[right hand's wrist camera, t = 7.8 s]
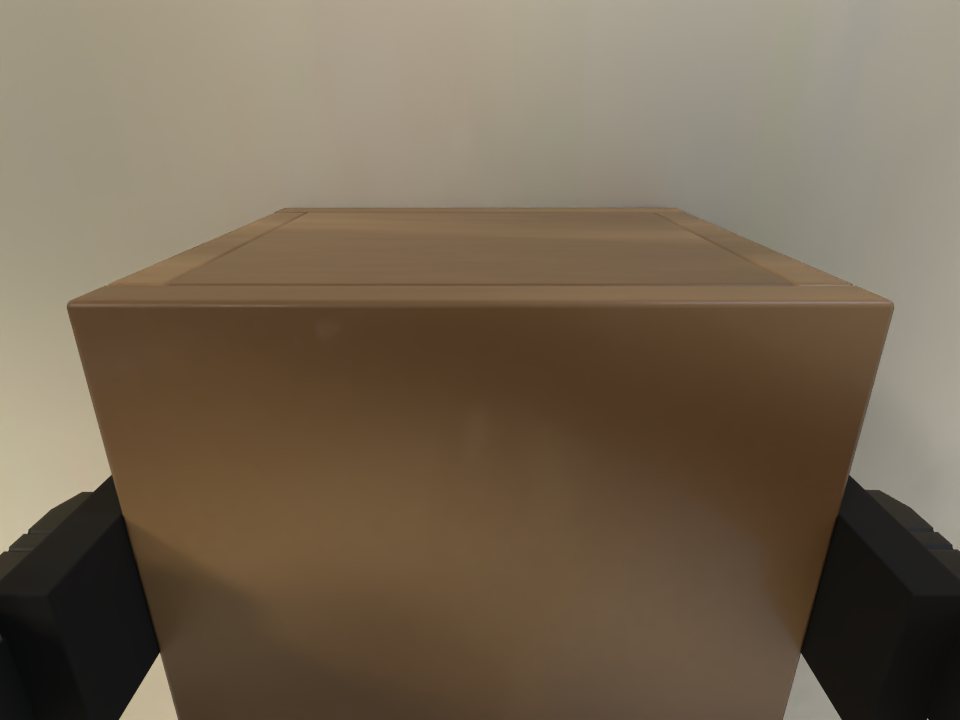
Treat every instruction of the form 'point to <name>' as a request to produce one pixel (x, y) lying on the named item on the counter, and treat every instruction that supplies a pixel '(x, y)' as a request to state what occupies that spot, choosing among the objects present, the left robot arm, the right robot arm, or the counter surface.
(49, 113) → the counter surface
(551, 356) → the cabinet
